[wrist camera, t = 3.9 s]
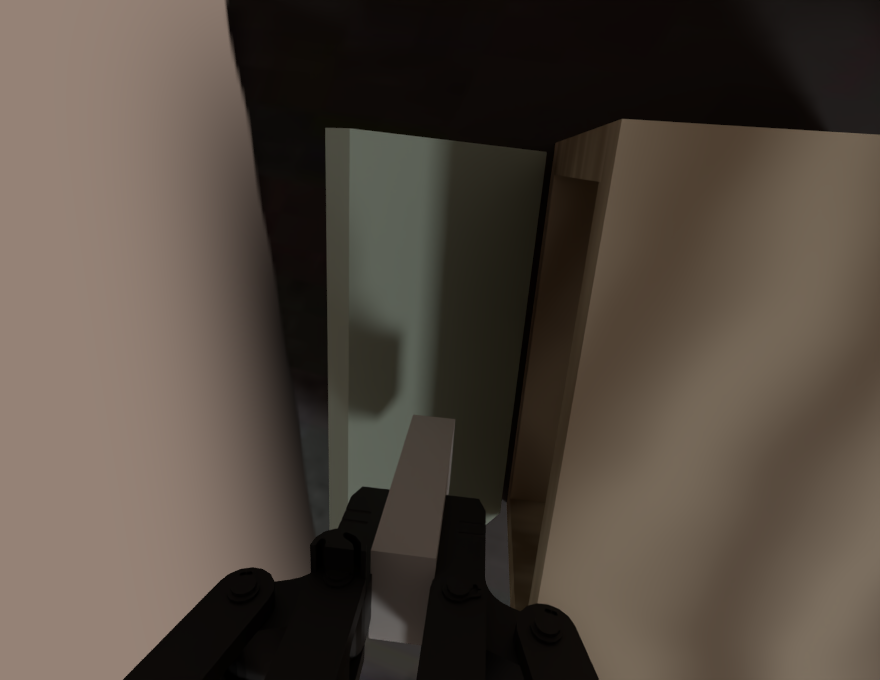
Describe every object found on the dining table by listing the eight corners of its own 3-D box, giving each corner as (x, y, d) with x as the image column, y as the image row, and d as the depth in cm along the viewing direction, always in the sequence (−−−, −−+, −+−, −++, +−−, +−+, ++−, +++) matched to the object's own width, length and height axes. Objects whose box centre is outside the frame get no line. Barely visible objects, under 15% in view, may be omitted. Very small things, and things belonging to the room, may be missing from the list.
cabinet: (847, 162, 24) (1270, 159, 11) (728, 530, 32) (894, 791, 18) (555, 142, 25) (622, 118, 12) (506, 503, 33) (514, 731, 19)
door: (547, 151, 24) (349, 128, 15) (499, 512, 31) (347, 638, 22) (508, 150, 25) (306, 127, 16) (471, 496, 32) (317, 609, 23)
